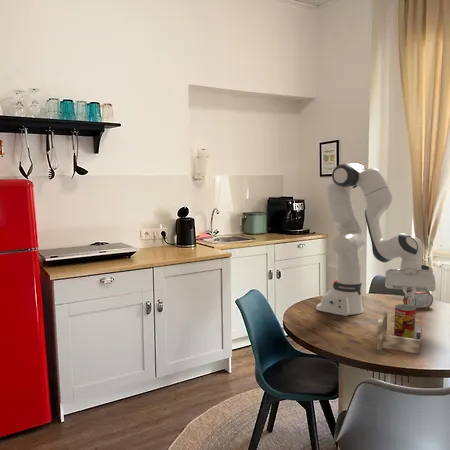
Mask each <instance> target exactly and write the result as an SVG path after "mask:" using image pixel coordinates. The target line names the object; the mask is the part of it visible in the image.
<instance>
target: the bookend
mask: <svg viewBox="0 0 450 450" xmlns="http://www.w3.org/2000/svg"><path fill="white" fill-rule="evenodd" d="M415 336H416V337H415V339H419V340H420V349H421V348H422V341H423V339H422V338H423V325H417V329H416V331H415Z"/></svg>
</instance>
